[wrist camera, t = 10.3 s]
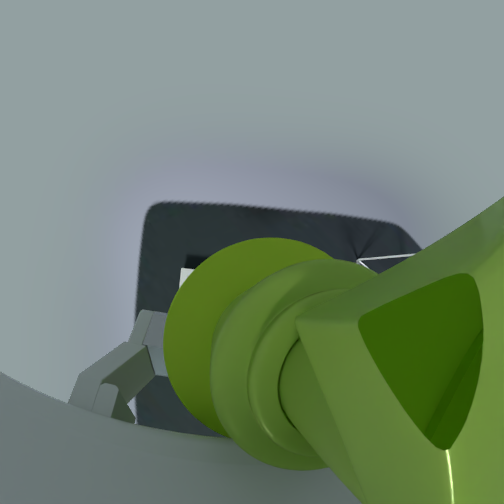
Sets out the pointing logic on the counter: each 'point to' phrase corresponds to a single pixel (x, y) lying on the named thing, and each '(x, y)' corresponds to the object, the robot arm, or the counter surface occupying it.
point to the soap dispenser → (353, 362)
